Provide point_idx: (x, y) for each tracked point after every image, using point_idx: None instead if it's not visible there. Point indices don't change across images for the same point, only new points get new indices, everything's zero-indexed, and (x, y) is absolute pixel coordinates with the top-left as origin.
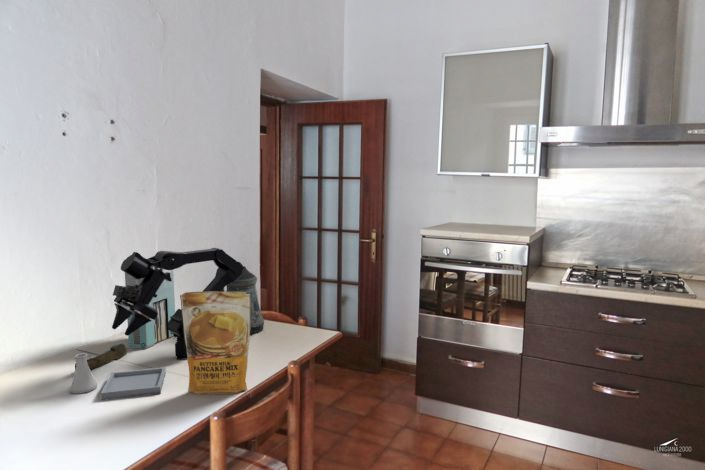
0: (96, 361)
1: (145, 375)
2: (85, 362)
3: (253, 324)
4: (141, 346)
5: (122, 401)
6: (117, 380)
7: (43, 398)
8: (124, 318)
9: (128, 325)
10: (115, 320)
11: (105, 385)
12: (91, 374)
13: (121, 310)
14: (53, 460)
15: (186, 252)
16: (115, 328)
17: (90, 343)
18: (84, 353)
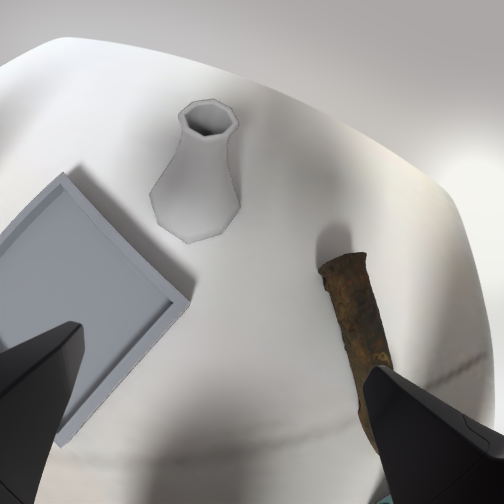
0: (349, 323)
1: (84, 379)
2: (184, 145)
3: None
4: (384, 502)
5: (14, 212)
6: (131, 289)
7: None
8: (405, 491)
9: (27, 366)
10: (419, 404)
11: (94, 210)
12: (180, 199)
13: (485, 488)
14: (7, 65)
15: None
16: (365, 391)
17: (491, 391)
18: (217, 134)
